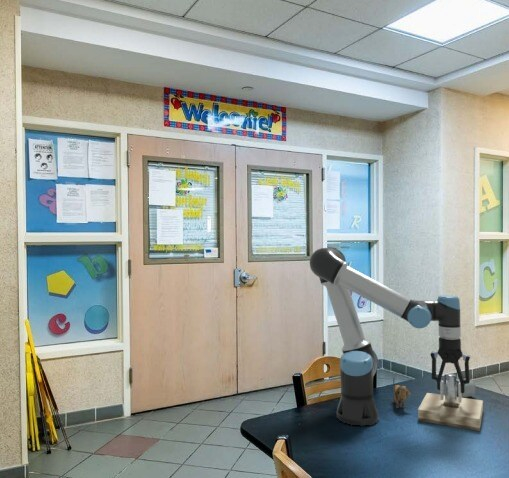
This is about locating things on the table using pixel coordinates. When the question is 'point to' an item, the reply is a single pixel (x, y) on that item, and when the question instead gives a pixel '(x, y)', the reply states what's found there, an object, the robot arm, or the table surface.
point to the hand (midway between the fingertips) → (451, 399)
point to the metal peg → (450, 391)
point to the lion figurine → (400, 395)
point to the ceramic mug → (467, 389)
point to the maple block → (451, 412)
